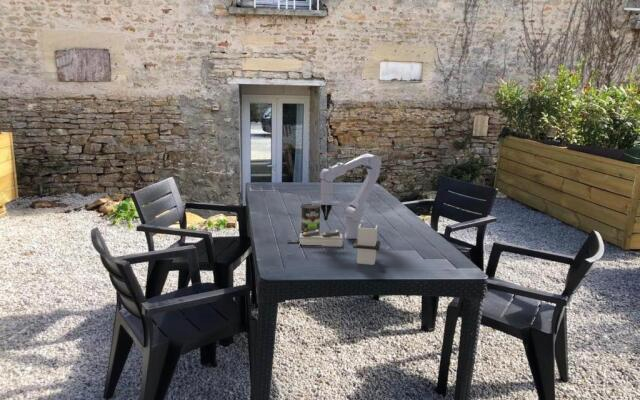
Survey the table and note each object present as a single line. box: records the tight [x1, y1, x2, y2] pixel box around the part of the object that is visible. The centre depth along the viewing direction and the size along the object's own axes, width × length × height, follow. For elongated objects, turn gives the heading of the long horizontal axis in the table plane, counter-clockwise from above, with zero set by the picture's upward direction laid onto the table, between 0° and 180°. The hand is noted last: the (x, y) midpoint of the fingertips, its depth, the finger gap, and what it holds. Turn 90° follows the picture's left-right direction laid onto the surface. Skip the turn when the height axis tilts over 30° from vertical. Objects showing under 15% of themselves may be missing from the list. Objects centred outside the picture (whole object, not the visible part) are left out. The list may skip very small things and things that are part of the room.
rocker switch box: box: [287, 232, 343, 248], centre depth 231 cm, size 27×9×4 cm, turn 90°
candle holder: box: [352, 224, 381, 266], centre depth 205 cm, size 25×24×16 cm
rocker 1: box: [303, 229, 321, 237], centre depth 230 cm, size 8×4×2 cm, turn 90°
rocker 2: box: [322, 229, 340, 237], centre depth 230 cm, size 8×4×2 cm, turn 90°
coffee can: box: [300, 203, 321, 232], centre depth 249 cm, size 10×10×14 cm
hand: (325, 219), depth 235 cm, fingers closed
